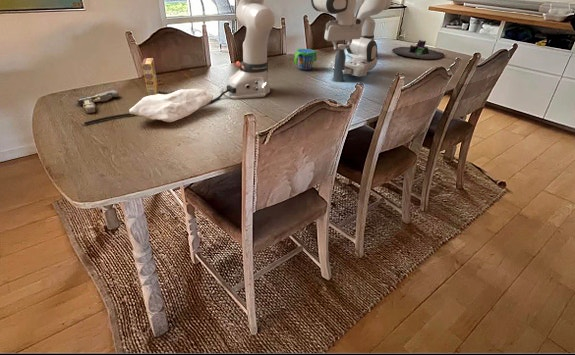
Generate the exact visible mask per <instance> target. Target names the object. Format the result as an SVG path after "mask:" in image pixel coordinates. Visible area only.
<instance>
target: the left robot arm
mask: <svg viewBox="0 0 575 355" xmlns="http://www.w3.org/2000/svg"><path fill="white" fill-rule="evenodd" d="M310 3H311V7H312V8H313V9H314V10H315V11H316V12H321V13H322V12H323V13H326V14H330V15H335V20H329V21H328V22H326V24H325V30H324V37H323V38H324V40H325V41H327V42H331V43H332V45H333V50H335V51H338V50H339V49H338V44H337V43H338V41H347V40H348V43H347V45H346V49H349V48H350V45H351V43H352V40H353V39H360V38H361V34H362V25H361V24H362V20H361V19H359V18H357V17H356V15H355V12H354V8H355V5H356V0H310ZM235 15H236V18H237V20H238V22H239V23H240V24H241V25H242V26H244V27H246V33H245V38H244V41H243V42H242V59H243V60H242V61H236V62H235V65H236V66H237V67H239V69H237V71H236V72H235V73H234V74H232V75H231V76H230V77H229V78H228V81H227V85H226V87H224V88H223V91H222V92H221V93H220V94H219V96H217V97H215V98H213V99H212V100H211V101H210V102H209V103H207V104H206V105H208V104H211V103H215V102H216V101H218V100H219V99H221V98H222V97H223V96H224V95H225V96H226V97H228V98H230V99H233V100H236V99H237V100H238V99H239V100H240V99H253V98H254V99H255V98H264V97H266V95H268V94H269V93H270V92H271V88H270V84H269V78H268V76H269V75H268V72H269V61H268V43H269V37H270V33H271V30H272V29H273V28H274V26H275V21H276V17H275V14H274V12H273V11H272V10H271V9H270V8H269V7H268V6H266V5H264V0H239V1H238V4H237V6H236V9H235ZM346 49H345V50H346ZM128 116H129V117H130V116H135V115H134V114H130V112H127V113H121V114H120V113H119V114H115V115H108V116H104V117H100V118H95V119H92V120H88V121H84V125H89V124H94V123H97V122H100V121H101V122H102V121H104V120H110V119H116V118H123V117H128Z"/></svg>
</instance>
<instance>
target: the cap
mask: <svg viewBox="0 0 575 355" xmlns="http://www.w3.org/2000/svg"><path fill="white" fill-rule="evenodd" d="M337 46H338V49H337V50H339V49H342V50H343V49H344V50H346V45H345V43H338V44H337Z"/></svg>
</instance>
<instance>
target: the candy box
mask: <svg viewBox="0 0 575 355" xmlns="http://www.w3.org/2000/svg"><path fill="white" fill-rule="evenodd" d="M141 66H142V73H143V78H144V82H145V87H146V92H147V96H150V95H156V94H159V91H160V90H159V84H158V79H157V73H156V66H155V62H154V58H153V57H151V58H150V57H149V58H146V57H145V58H143V60H142V63H141Z"/></svg>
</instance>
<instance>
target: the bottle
mask: <svg viewBox="0 0 575 355" xmlns="http://www.w3.org/2000/svg"><path fill="white" fill-rule="evenodd" d="M345 51H346V50H345V49H343V50H342V49H338V50H337V52H336V54H335V56H334V61H335V65H334V70H333V76H332V80H333V81H334V82H337V83H339V82H344V77H345V74H343V73H342V70H344V69H345V62H347V61H346V59H347V56H346V52H345Z"/></svg>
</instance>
